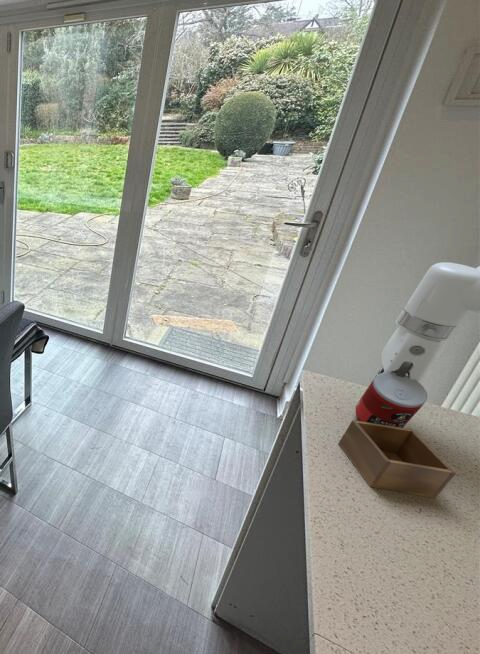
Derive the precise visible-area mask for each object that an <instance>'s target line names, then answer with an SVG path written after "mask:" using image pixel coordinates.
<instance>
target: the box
mask: <svg viewBox="0 0 480 654" xmlns="http://www.w3.org/2000/svg"><path fill="white" fill-rule="evenodd" d="M338 446H339V448H341V449H342V451H343V453H344V454H345V456H346V457H347V458H348V460H349V461H350V462H351V463H352V465H353V466H354V467H355V469H356V470H357V472H358V473H359V474H360V475H361V478H363V480H364V481H365V482H366V483H367V485H368V486H369V487H371V488H376V489H382V490H386V491H392V492H398V493H402V494H403V493H404V494H408V495H415V496H421V497H426V498H431V499H436V498H437V497H438V496H439V495H440V493H441V492H442V491H443V490H444V489H445V488H446V486H448V484H449V482H451V480H452V479H453V478H454V477H455V476H456V474H457V473H456V472H455V470H454V469H453V468H452V467H451V466H450V465H448V463H447V462H446V461H445V460H444V459H443V458H442V457H441V456H440V455H439V454H438V453H437V452H436V451H435V450H434V449H433V448H432V447H431V446H430V445H429V444H428V443H427V442H426V441H425V440H424V439H423V438H422V437H421V436H420V435H419V434H418V433H417V432H416V431H415V430H414V429H413V428H406V427H403V428H400V427H394V426H387V425H381V424H375V423H368V422H362V421H360V420H351V422H350V423H349V425H348V427H347V429H346V430H345V432H344V433H343V435H342V437H341V439H340V440H339V441H338Z"/></svg>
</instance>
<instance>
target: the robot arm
mask: <svg viewBox="0 0 480 654" xmlns="http://www.w3.org/2000/svg"><path fill="white" fill-rule="evenodd" d="M468 311H471V312H474V313H477V314H480V265H479V266H477V267H472V266H469V265H465V264H460V263H456V262H448V261H445V262H444V261H442V262H437V263H434V264H432V265H431V266H430V267H429V268H428V270H427V271H426V272H425V274H424V276H423V277H422V278H421V280H420V282H419V283H418V285H417V287H416V289H415V290H414V291H413V293H412V295H411V296H410V298H409V299H408V300H407V303H406V304H405V306H404V307H403V309H402V310H401V312H400V313H399V315H398V317H397V318H396V320H395V322H394V323H395V325H396V326H397V328H396V330H395V331H394V332H393V333H392V335H391V336H390V338H388V341H387V342H386V344H385V345H384V347H383V349H382V351H381V355H380V356H381V362H382V365H381V367H380V368H379V370H378V372H377V374H375V376H374V378H375V377H376V376H377V375H379V374H381V373H384V372H389V373H391V372H396V376H399V377H403V378H404V376H405V375H406V376H409V377H410V379H412V380H416V381H417V382H419V380H420V379H421V377H422V375H423V374H424V372H425V371H426V369H427V368H428V367H429V364H430V363H431V362H432V359H433V358H434V356H435V354H436V353H437V351H438V348H439V346H440V344H441V342H444V341H447V340H448V339H449V337H450V336H451V334H452V333H453V332H454V330H455V329H456V328H457V326H458V325H459V324H460V322H461V321H462V320H463V318H464V317H465V315H466V314H467V313H468ZM374 378H373V379H372V381H373V380H374Z"/></svg>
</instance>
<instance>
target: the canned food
mask: <svg viewBox="0 0 480 654" xmlns="http://www.w3.org/2000/svg"><path fill="white" fill-rule="evenodd" d="M376 375H377V376H376ZM376 375H375V376H376V377H375V376H374V378H373V379H374V380H373V379H372V381H371V383H370V384H369V385H368V387H367V388H366V389H365V391H364V393H363V395H362V396H361V397H360V399H359V400H358V402H357V403H356V404H355V416H356V418H357V419H358V421H362V422H368V423H375V424H381V425H387V426H394V427H400V428H405V426H406V425H407V424H408V423H409V422H410V420H411V419H413V417H414V416H415V415H416V414H417V413H418V411H419V410H420V409H421V408H422V407H423V406H424V404H425V403H426V401H427V400H428V392H427V390H426V389H425V387H424V385H422V384H421V383H420V382H419V381H418V382H417V381H416V380H412V379H410V377H409V376H408V375H407V374H406V375H405V376H404V378H403V377H399V376H396V372H391V373H389V372H384V373H381V374H379V375H378V374H376Z"/></svg>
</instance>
